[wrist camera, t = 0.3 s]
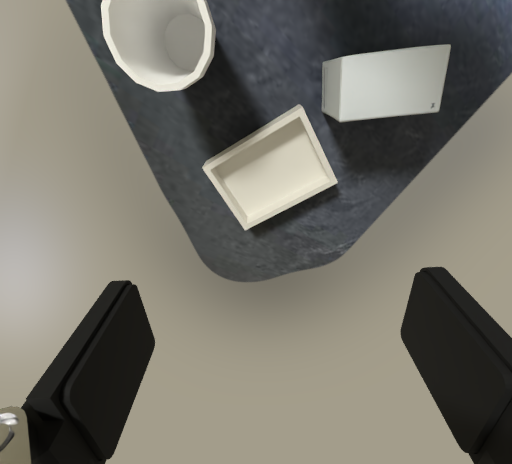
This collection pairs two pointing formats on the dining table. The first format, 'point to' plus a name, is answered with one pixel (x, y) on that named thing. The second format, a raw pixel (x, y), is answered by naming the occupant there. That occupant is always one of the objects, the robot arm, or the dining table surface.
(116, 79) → the dining table surface
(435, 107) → the skincare box
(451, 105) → the dining table surface
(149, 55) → the foam cup
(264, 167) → the trough
